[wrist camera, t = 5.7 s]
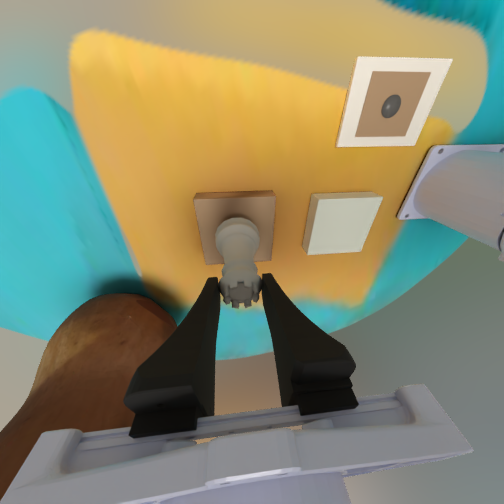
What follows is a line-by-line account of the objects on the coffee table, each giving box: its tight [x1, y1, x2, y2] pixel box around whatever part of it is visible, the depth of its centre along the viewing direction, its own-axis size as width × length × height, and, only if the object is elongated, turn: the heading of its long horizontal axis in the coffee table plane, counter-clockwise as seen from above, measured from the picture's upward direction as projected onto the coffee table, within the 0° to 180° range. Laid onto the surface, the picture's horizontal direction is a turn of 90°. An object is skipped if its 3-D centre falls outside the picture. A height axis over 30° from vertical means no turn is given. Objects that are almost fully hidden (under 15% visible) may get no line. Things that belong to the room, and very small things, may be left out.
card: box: [335, 57, 453, 147], centre depth 16 cm, size 8×6×1 cm
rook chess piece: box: [215, 218, 263, 308], centre depth 15 cm, size 4×4×8 cm
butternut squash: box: [0, 293, 178, 501], centre depth 17 cm, size 14×13×25 cm
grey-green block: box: [302, 191, 383, 255], centre depth 21 cm, size 7×7×2 cm
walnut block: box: [193, 190, 276, 265], centre depth 20 cm, size 8×8×2 cm
